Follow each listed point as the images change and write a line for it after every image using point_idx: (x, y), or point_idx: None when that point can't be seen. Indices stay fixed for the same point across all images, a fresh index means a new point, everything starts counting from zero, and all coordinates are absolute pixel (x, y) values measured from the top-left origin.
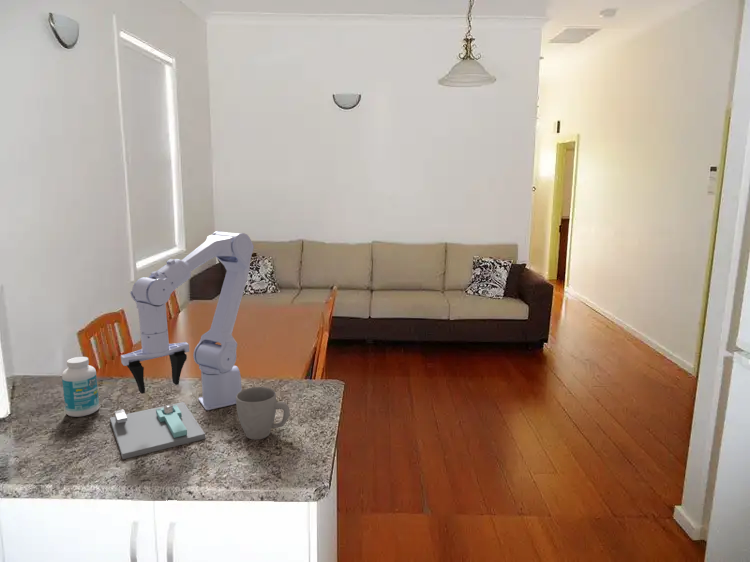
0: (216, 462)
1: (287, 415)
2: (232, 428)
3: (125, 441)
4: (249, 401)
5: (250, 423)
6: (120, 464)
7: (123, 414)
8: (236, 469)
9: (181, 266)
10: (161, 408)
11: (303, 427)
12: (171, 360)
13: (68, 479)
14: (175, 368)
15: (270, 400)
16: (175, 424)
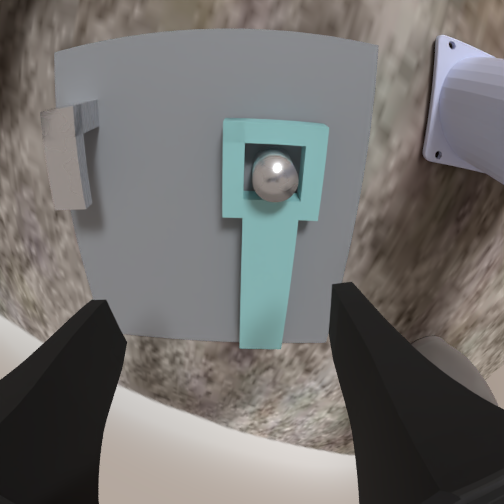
0: (294, 405)
1: None
2: (405, 312)
3: (103, 276)
4: (463, 381)
5: None
6: None
7: (71, 168)
8: (310, 424)
9: None
10: (251, 123)
11: (480, 358)
12: (393, 449)
13: (29, 328)
14: (359, 437)
15: None
16: (260, 305)
